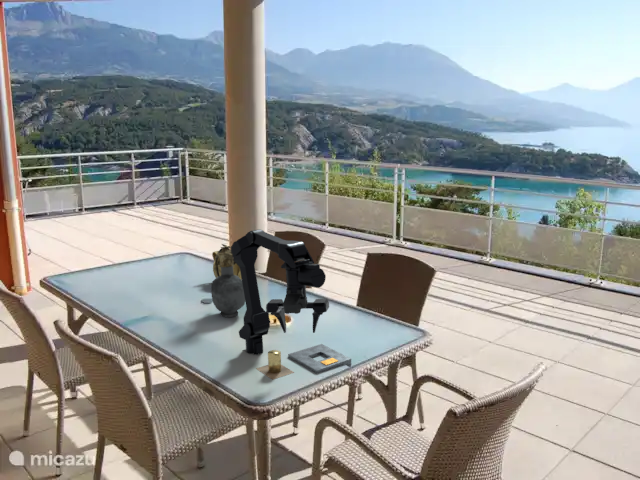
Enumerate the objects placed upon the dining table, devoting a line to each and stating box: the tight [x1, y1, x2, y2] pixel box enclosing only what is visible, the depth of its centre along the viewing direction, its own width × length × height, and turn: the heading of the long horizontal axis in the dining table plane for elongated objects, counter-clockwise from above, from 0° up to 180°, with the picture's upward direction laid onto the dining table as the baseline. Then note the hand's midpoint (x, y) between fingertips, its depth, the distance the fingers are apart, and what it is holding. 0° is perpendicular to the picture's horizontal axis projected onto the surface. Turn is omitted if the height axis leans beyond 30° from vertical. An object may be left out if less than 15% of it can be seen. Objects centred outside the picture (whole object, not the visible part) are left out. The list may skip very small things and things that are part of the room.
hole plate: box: [287, 343, 352, 375], centre depth 179 cm, size 16×14×2 cm
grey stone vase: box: [210, 243, 246, 318], centre depth 226 cm, size 11×19×30 cm, turn 34°
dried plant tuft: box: [211, 250, 242, 280], centre depth 273 cm, size 22×17×15 cm
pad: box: [255, 364, 295, 381], centre depth 172 cm, size 10×8×1 cm
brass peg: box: [267, 349, 282, 373], centre depth 171 cm, size 4×4×6 cm
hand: (299, 332), depth 169 cm, fingers open, 9 cm apart
